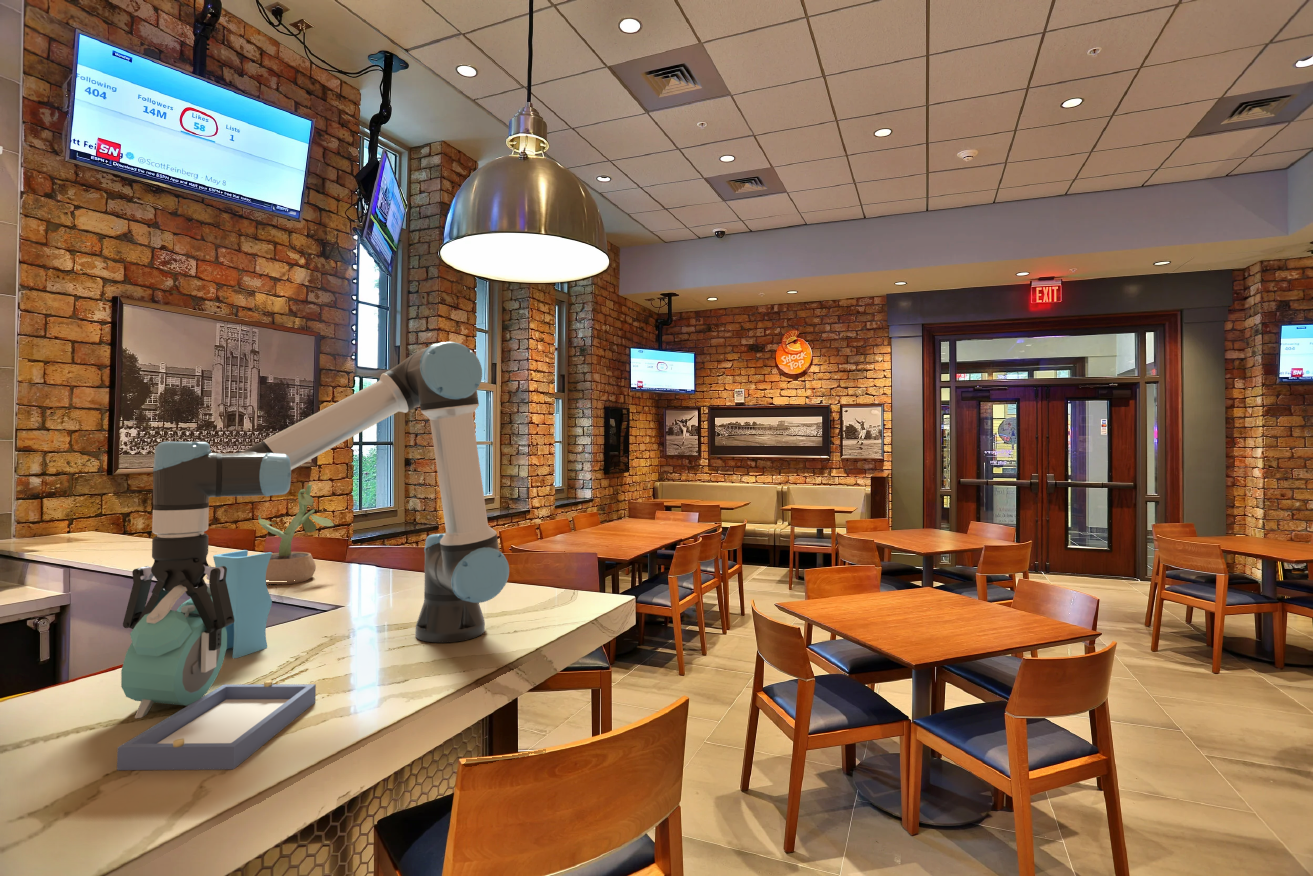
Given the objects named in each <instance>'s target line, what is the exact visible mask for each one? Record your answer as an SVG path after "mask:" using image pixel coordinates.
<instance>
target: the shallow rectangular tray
mask: <svg viewBox="0 0 1313 876" xmlns="http://www.w3.org/2000/svg"><path fill="white" fill-rule="evenodd" d="M316 685H317V684H316V683H315V684H314V683H313V684H311V683H308V684H307V683H306V684H300V683H298V684H297V683H296V684H295V683H294V684H293V683H292V684H286V683H285V684H283V683H282V684H273V680H266V681H264V682H263V683H262V684H259V683H257V684H243V683H242V684H241V683H240V684H239V683H237V684H235V683H234V684H233V683H231V684H222V685H221V686H219V687H217V688H215V689H214V690H212V691H211V692H209V693H206V695H204V696H202V697H201V698H200V699H199V700H197V701H195V702H193V703H192V704H190V705H187V706H185V707H184V708H181V709H180V710H177V712H175V713H174V714H171V715H170V716H168V717H166V718H165V719H163V720H161V721H159V722H158V723H156V724H155V725H152V726H151V727H149V728H148V729H146V730H145V731H143V732H141V733H139V734H137V735H136V736H135V737H133V738H131V739H129V740H128V741H126V742H124V743H122V744H120V745H119V746H118V747H117V751H116V752H117V757H116V759H117V760H116V763H117V764H116V770H117V771H170V770H172V771H177V770H179V771H181V770H182V771H183V770H189V771H191V770H195V771H197V770H202V771H203V770H204V771H205V770H235V769H236V768H237V767H239V766H240V765H241V764H242V763H243V762H245V761H246V760H247V759H248V758H249V757H251V756H252V755H253V754H255V752H257V751H258V750H259V749H260V748H262V747H263V746H264V745H265V744H266V743H267V742H269V741H270V740H271V739H273V738H274V737H275V736H276V735H278V734H279V733H280V732H281V731H282V730H284V729H285V728H286V727H287V726H288V725H290V724H291V723H293V721H295V720H296V719H297V718H298V717H299V716H301V714H303V713H304V712H306V710H308V709H309V708H310V707H312V706H313V705H314V704H315V703H316V695H317V693H316V689H317V687H316Z"/></svg>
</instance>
